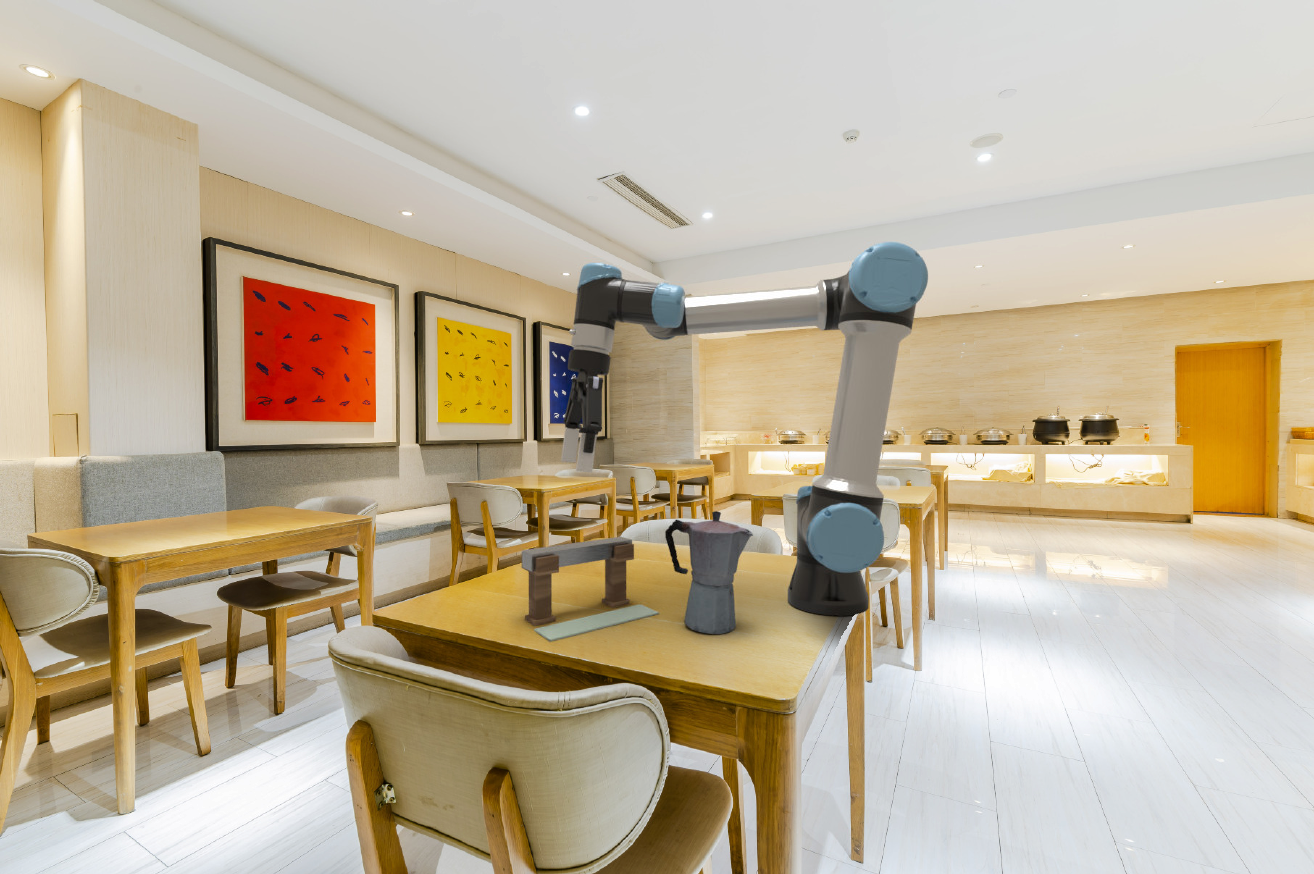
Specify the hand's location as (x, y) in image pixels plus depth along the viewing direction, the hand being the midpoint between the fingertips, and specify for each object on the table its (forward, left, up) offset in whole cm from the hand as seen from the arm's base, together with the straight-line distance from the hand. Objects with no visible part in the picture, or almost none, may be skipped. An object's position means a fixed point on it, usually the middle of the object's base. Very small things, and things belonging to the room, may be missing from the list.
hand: (575, 466), depth 101 cm
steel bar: (+1, -1, -18) cm, 18 cm away
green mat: (-6, -1, -27) cm, 28 cm away
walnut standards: (+1, -1, -27) cm, 27 cm away
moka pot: (-19, -15, -27) cm, 37 cm away
